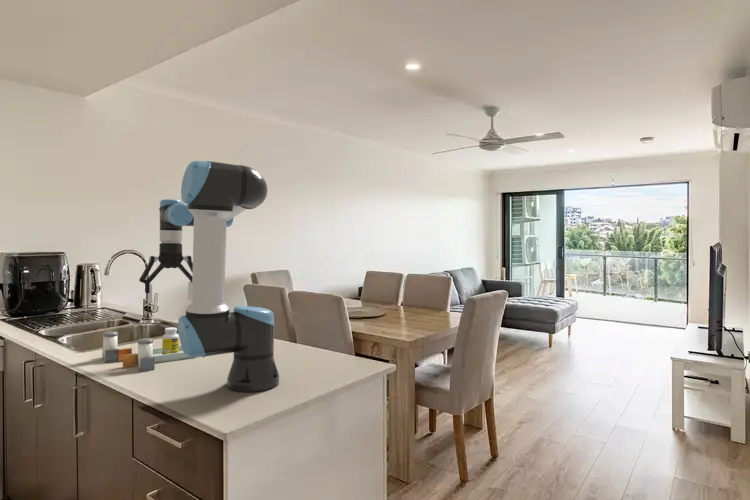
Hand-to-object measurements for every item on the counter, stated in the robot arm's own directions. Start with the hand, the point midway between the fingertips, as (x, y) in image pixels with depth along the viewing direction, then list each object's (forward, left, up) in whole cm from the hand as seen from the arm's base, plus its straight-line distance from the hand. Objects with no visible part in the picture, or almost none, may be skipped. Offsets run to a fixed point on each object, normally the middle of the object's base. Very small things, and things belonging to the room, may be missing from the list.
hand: (170, 301), depth 165 cm
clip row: (-1, +14, -20) cm, 25 cm away
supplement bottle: (0, 0, -20) cm, 20 cm away
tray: (0, 0, -20) cm, 20 cm away
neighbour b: (+8, +18, -20) cm, 28 cm away
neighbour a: (-10, +10, -20) cm, 25 cm away
